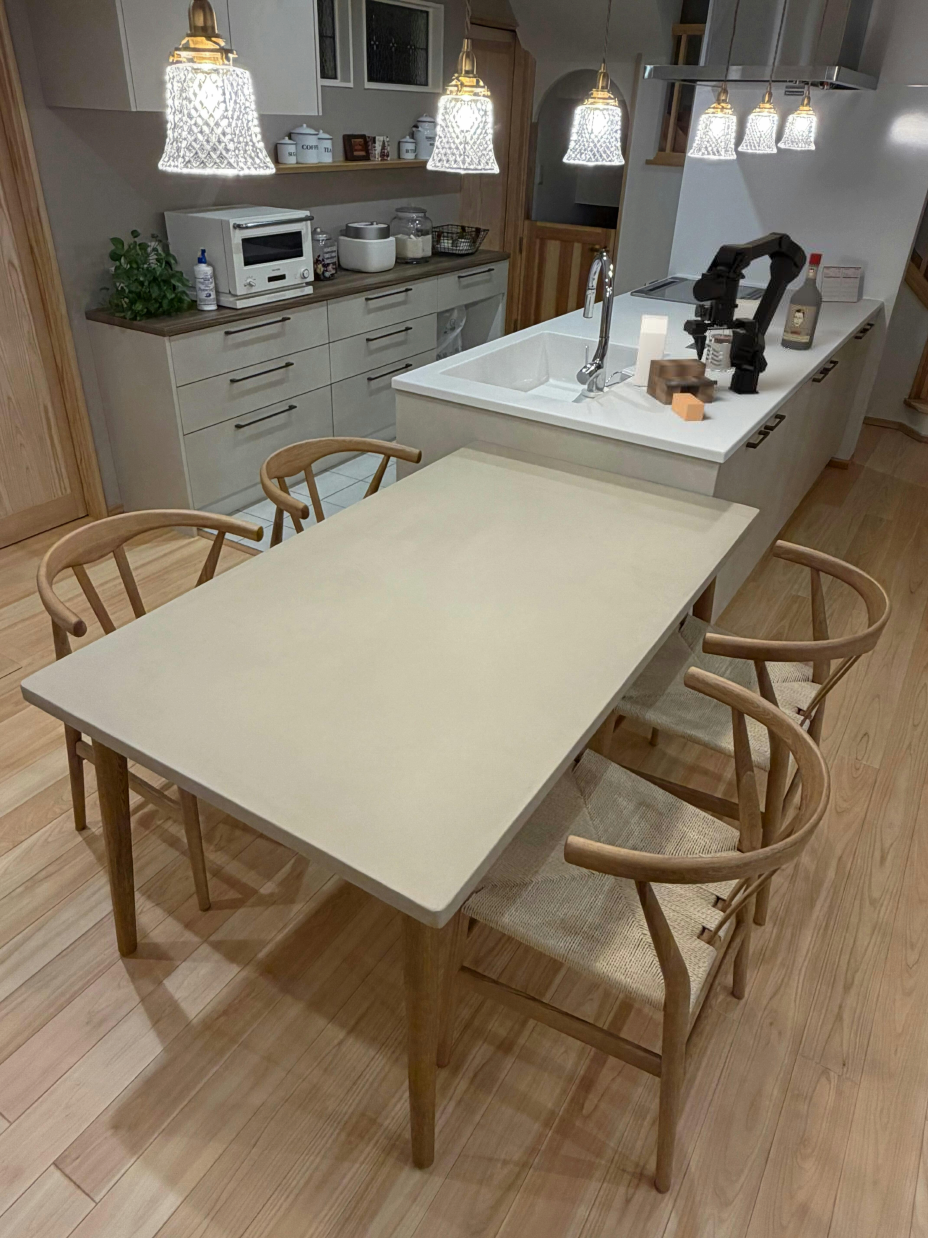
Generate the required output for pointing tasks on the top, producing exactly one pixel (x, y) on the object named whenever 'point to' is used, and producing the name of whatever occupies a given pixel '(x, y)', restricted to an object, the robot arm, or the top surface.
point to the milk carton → (650, 345)
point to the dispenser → (679, 380)
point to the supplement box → (745, 309)
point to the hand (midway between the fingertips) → (715, 359)
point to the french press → (718, 347)
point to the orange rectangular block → (687, 407)
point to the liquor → (803, 310)
